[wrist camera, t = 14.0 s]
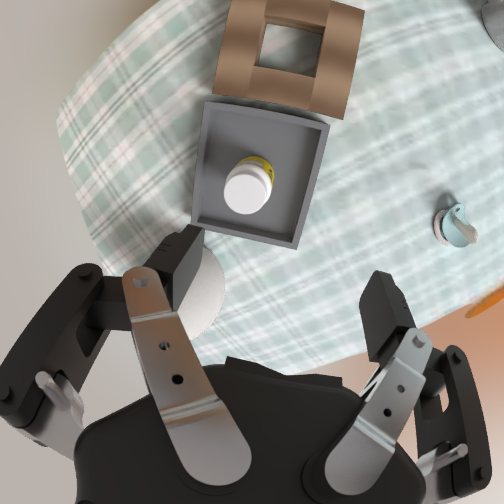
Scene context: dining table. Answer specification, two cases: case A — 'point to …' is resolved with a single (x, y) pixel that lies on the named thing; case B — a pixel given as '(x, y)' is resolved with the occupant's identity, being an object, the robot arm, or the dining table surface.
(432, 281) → the dining table surface
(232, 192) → the supplement bottle
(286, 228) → the charcoal tray
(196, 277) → the decorative egg
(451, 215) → the pacifier
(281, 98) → the walnut holder
